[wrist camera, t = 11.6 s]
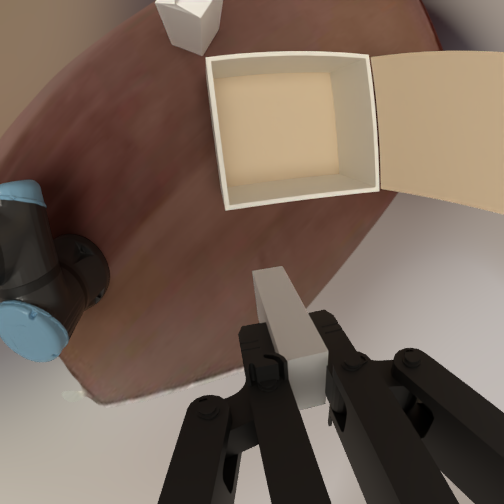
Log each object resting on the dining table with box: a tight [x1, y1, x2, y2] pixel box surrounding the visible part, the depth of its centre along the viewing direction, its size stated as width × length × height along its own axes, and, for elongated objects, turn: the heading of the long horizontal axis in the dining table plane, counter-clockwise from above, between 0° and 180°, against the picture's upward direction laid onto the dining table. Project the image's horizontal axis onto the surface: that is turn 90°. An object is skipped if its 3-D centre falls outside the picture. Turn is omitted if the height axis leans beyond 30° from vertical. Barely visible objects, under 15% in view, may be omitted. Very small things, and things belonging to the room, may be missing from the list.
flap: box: [371, 51, 504, 215], centre depth 29 cm, size 21×19×1 cm
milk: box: [155, 0, 223, 56], centre depth 31 cm, size 6×6×22 cm
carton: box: [206, 51, 379, 210], centre depth 43 cm, size 22×20×14 cm
